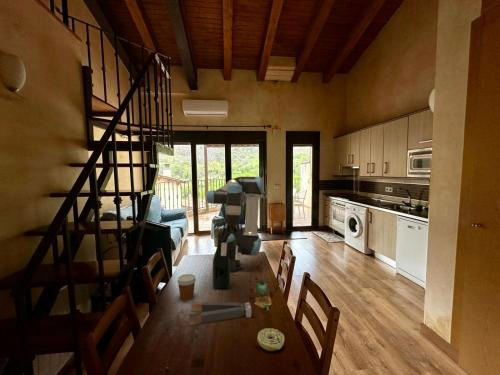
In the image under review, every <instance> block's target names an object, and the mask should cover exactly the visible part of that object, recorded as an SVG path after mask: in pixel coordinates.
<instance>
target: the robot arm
mask: <svg viewBox="0 0 500 375" xmlns="http://www.w3.org/2000/svg"><path fill="white" fill-rule="evenodd" d="M264 193H265V188H264V180H263V178H262V177H261V176H237V177H234V178H231V179H230V180H228V181H227V182H226V184H224V185H223V186H221V187H219V188H218V189H216V190H212V189H211V190H208V191H207V193H206V202H207V203H208V204H213V205H226V207H225V209H226V210H225V213H226V215H225V223H223V226H222V230H221V231H222V233H221V236H220V239H219V241H221V243H222V246H221V256H226V250H227V253H228V255H229V259H230V273H237V272H239V271H241V269H242V263H241V260H242V255H243V256H258V255H259V254H260V250H261V246H262V238H260V235H259V233H258V222H259V221H258V220H259V205H260V204H259V203H260V202H259V200H260V198H261V197H262V195H263V194H264ZM243 205H245V218H244V220H245V221H244V230H243V224H239V223H241V214H242V213H241V212H242V206H243Z"/></svg>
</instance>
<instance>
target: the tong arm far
mask: <svg viewBox="0 0 500 375" xmlns="http://www.w3.org/2000/svg"><path fill="white" fill-rule="evenodd" d="M241 306H244V307H245V302H244V303H243V302H220V301H192V303H191V312H196V313H201V312H208V311H214V310H221V309H228V308H234V307H241Z"/></svg>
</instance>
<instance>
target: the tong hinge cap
mask: <svg viewBox="0 0 500 375" xmlns="http://www.w3.org/2000/svg"><path fill="white" fill-rule="evenodd" d="M244 304H245V318H246V319H247V318H252V307H251V302H244Z"/></svg>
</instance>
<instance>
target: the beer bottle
mask: <svg viewBox="0 0 500 375" xmlns="http://www.w3.org/2000/svg"><path fill="white" fill-rule="evenodd" d="M221 233H222V230H221V231H218V232H217V235H216V236H217V242H216V244H217V245H216V250H215V251H214V252H215V253H214V255H213V257H212V274H211V276H212V288H213V289H214V290H216V291H217V290H218V291H219V290H220V291H225V290H228V289H230V287H231V272H230V259H229V255H228V253H227V250H226V256H221V246H222V243H221V241H219V239H220V236H221Z"/></svg>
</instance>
